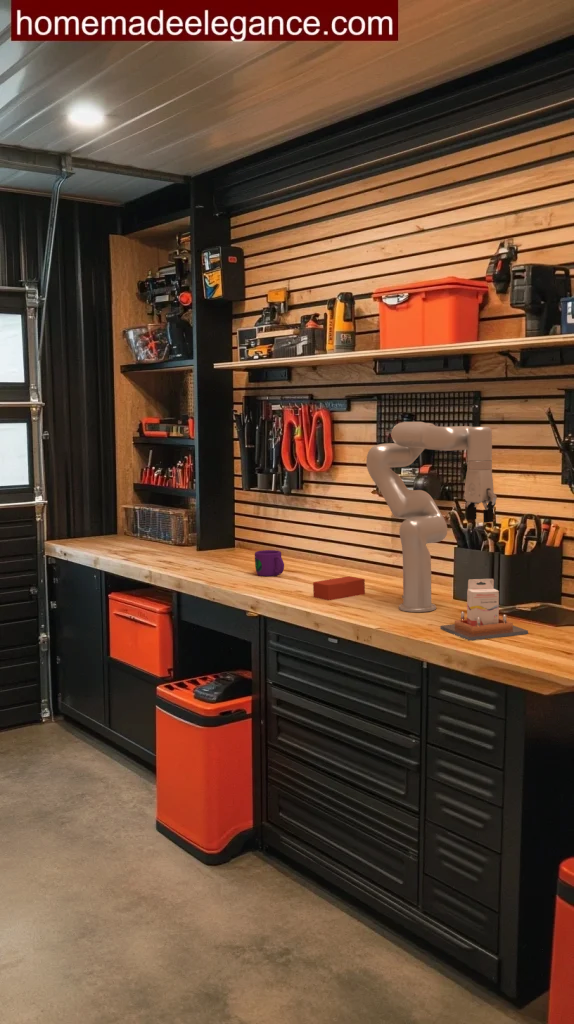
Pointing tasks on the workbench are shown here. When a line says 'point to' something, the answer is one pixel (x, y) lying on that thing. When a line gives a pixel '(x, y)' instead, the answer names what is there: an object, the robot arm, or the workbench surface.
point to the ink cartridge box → (482, 602)
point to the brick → (339, 588)
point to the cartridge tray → (483, 629)
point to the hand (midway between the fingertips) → (479, 520)
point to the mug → (268, 563)
